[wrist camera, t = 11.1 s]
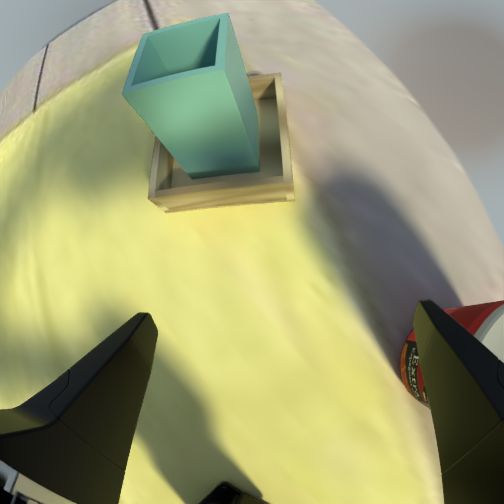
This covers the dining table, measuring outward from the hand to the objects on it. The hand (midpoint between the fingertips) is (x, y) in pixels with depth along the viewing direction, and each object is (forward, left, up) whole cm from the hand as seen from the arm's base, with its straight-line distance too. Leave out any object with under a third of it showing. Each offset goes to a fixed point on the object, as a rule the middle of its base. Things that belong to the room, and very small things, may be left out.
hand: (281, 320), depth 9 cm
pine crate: (+9, +13, -14) cm, 21 cm away
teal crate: (+9, +13, -13) cm, 21 cm away
